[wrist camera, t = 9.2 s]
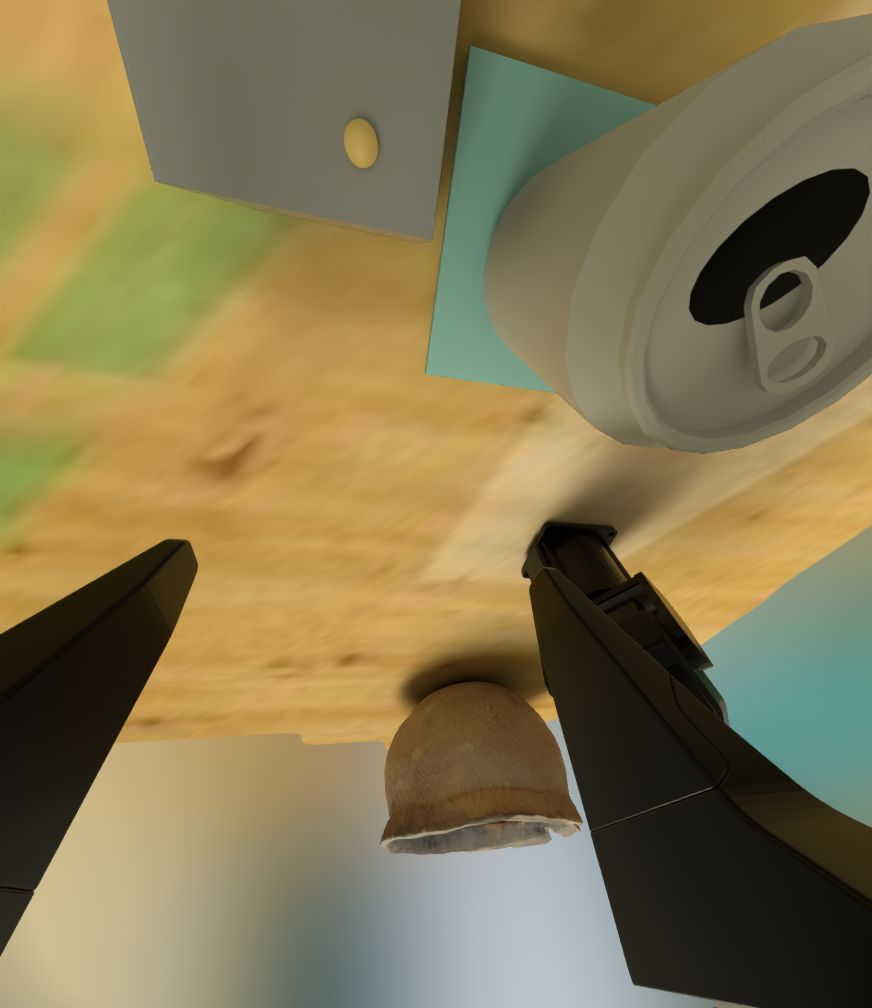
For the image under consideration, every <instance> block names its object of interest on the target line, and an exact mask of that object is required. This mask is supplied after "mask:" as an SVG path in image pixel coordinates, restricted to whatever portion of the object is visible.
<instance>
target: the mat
mask: <svg viewBox="0 0 872 1008" xmlns="http://www.w3.org/2000/svg"><path fill="white" fill-rule="evenodd" d="M655 106H657V105H655V104H652V103H648V102H645V101H642V100H639V99H636V98H633V97H630V96H627V95H624V94H620V93H617V92H614V91H611V90H608V89H605V88H602V87H599V86H596V85H592V84H589V83H586V82H583V81H580V80H577V79H574V78H571V77H568V76H564V75H561V74H558V73H555V72H552V71H549V70H546V69H543V68H540V67H536V66H533V65H530V64H527V63H524V62H521V61H518V60H515V59H512V58H508V57H505V56H502V55H499V54H496V53H493V52H490V51H487V50H484V49H480V48H477V47H474V46H470V49H469V52H468V56H467V63H466V71H465V78H464V86H463V93H462V101H461V108H460V115H459V123H458V130H457V138H456V145H455V152H454V160H453V167H452V175H451V182H450V190H449V197H448V204H447V212H446V219H445V227H444V234H443V241H442V249H441V256H440V264H439V271H438V279H437V286H436V293H435V301H434V308H433V316H432V323H431V330H430V338H429V345H428V353H427V360H426V368H425V374H426V375H433V376H440V377H448V378H455V379H462V380H469V381H476V382H483V383H490V384H498V385H505V386H512V387H519V388H526V389H533V390H540V391H548V392H555V391H554V390H553V389H552V388H551V387H550V386H549V385H548V384H547V383H545V382H544V381H543V380H542V379H541V378H540V377H539V376H538V375H537V374H536V373H535V372H534V371H532V370H531V369H530V368H529V367H528V366H527V365H526V364H525V363H524V362H523V361H522V360H521V359H519V358H518V357H517V356H516V355H515V354H514V353H513V352H512V351H511V350H510V349H509V348H508V347H507V346H506V345H505V344H504V342H503V341H502V340H501V338H500V337H499V336H498V335H497V333H496V332H495V331H494V329H493V327H492V324H491V321H490V318H489V315H488V312H487V309H486V306H485V300H484V275H483V273H484V268H485V263H486V259H487V254H488V249H489V245H490V240H491V238H492V236H493V233H494V231H495V229H496V227H497V225H498V223H499V221H500V219H501V217H502V215H503V213H504V211H505V209H506V207H507V205H508V204H509V203H510V202H511V201H512V199H513V198H514V197H515V196H516V195H517V194H518V192H519V191H520V190H521V189H522V188H523V186H524V185H525V184H526V183H527V182H528V181H529V179H530V178H531V177H533V176H535V175H536V174H538V173H539V172H541V171H543V170H544V169H546V168H547V167H549V166H550V165H552V164H554V163H555V162H557V161H558V160H560V159H562V158H563V157H565V156H567V155H569V154H571V153H572V152H574V151H576V150H578V149H580V148H581V147H583V146H585V145H587V144H589V143H590V142H592V141H594V140H596V139H598V138H599V137H601V136H603V135H605V134H607V133H608V132H610V131H612V130H614V129H616V128H617V127H619V126H621V125H623V124H625V123H626V122H628V121H630V120H632V119H634V118H635V117H637V116H639V115H641V114H643V113H644V112H646V111H648V110H650V109H652V108H653V107H655ZM555 393H556V392H555Z"/></svg>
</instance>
